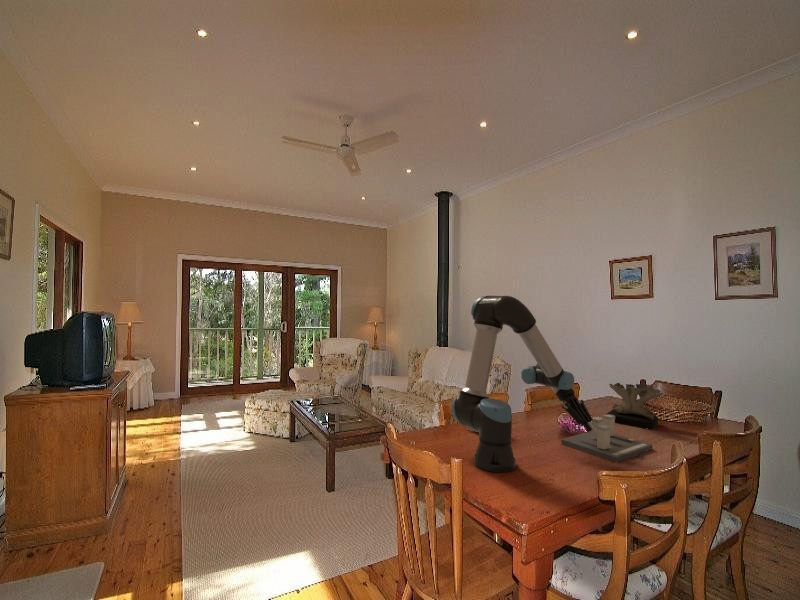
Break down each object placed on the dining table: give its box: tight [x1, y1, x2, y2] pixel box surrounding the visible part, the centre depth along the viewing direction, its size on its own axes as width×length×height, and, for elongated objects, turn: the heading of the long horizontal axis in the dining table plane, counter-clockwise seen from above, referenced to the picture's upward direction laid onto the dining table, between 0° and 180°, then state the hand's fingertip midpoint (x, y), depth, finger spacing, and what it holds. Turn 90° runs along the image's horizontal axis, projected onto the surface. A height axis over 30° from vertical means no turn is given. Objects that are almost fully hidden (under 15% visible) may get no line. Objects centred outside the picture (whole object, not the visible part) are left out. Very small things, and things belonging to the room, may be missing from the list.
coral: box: [605, 382, 664, 430], centre depth 208 cm, size 25×20×22 cm
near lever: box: [597, 425, 610, 450], centre depth 166 cm, size 4×3×9 cm
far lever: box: [602, 413, 616, 436], centre depth 183 cm, size 4×3×9 cm
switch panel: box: [560, 431, 653, 463], centre depth 174 cm, size 28×24×2 cm
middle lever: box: [591, 416, 604, 440], centre depth 178 cm, size 4×3×9 cm
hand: (597, 437), depth 169 cm, fingers closed
